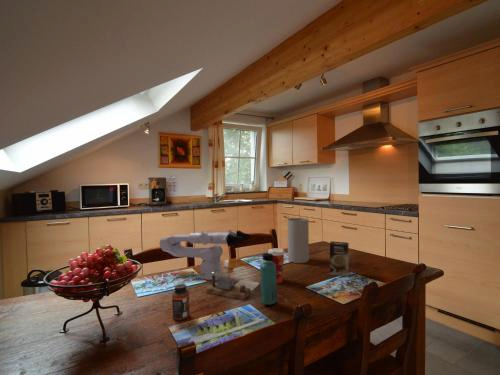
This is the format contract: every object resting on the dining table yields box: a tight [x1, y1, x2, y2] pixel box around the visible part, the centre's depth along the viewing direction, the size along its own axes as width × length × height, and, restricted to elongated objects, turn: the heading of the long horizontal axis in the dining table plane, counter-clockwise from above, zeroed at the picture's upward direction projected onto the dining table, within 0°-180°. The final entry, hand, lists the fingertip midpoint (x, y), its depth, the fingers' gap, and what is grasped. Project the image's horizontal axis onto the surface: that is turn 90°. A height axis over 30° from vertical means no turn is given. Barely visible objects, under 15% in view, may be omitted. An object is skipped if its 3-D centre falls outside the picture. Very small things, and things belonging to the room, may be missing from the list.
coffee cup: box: [267, 247, 285, 284], centre depth 126 cm, size 8×8×15 cm
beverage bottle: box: [259, 252, 278, 305], centre depth 102 cm, size 6×7×20 cm
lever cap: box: [217, 277, 236, 291], centre depth 113 cm, size 6×4×4 cm
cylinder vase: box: [286, 217, 310, 264], centre depth 157 cm, size 12×12×25 cm
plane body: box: [206, 276, 251, 301], centre depth 113 cm, size 18×7×7 cm, turn 65°
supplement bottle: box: [171, 283, 191, 321], centre depth 94 cm, size 6×6×11 cm
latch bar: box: [211, 271, 231, 278], centre depth 115 cm, size 9×2×1 cm, turn 65°
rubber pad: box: [235, 279, 261, 292], centre depth 121 cm, size 10×9×1 cm
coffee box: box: [329, 241, 350, 278], centre depth 134 cm, size 9×6×16 cm
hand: (246, 238), depth 123 cm, fingers open, 7 cm apart
